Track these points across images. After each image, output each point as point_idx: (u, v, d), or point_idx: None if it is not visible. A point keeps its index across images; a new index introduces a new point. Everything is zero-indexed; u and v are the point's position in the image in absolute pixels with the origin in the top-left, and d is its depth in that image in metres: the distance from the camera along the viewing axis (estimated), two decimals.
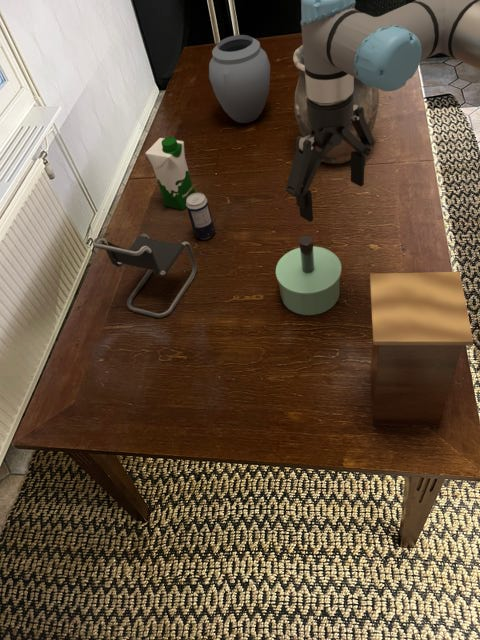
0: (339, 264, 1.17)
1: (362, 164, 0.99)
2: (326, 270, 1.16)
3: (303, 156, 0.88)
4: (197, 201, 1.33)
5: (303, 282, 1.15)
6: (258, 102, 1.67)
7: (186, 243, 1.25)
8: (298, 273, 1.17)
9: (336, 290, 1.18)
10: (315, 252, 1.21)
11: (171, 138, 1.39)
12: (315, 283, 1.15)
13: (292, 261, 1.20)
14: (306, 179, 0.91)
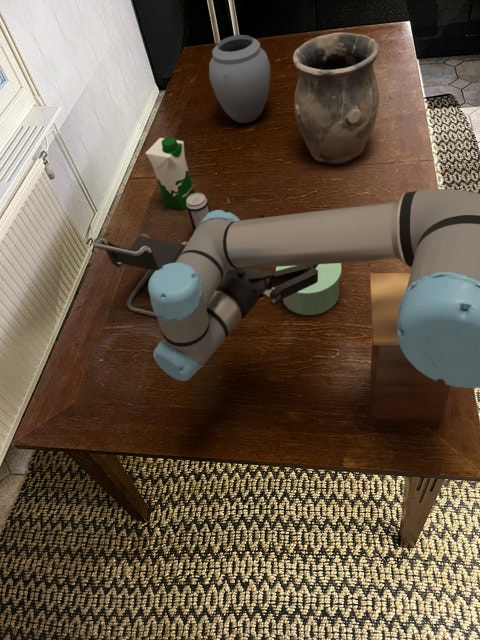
0: (339, 264, 1.17)
1: None
2: (326, 270, 1.16)
3: (284, 290, 0.90)
4: (197, 201, 1.33)
5: None
6: (258, 102, 1.67)
7: (186, 243, 1.25)
8: None
9: (336, 290, 1.18)
10: None
11: (171, 138, 1.39)
12: (315, 283, 1.15)
13: None
14: (297, 272, 0.93)
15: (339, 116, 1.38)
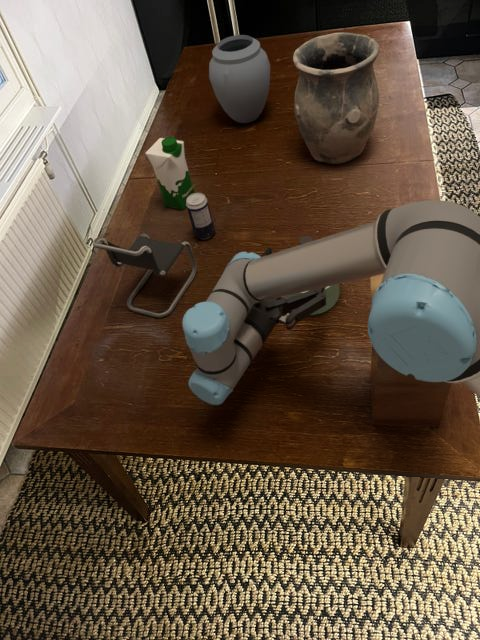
0: None
1: None
2: None
3: (298, 315, 1.01)
4: (197, 201, 1.33)
5: None
6: (258, 102, 1.67)
7: (186, 243, 1.25)
8: None
9: (336, 290, 1.18)
10: None
11: (171, 138, 1.39)
12: None
13: None
14: (307, 297, 1.03)
15: (339, 116, 1.38)
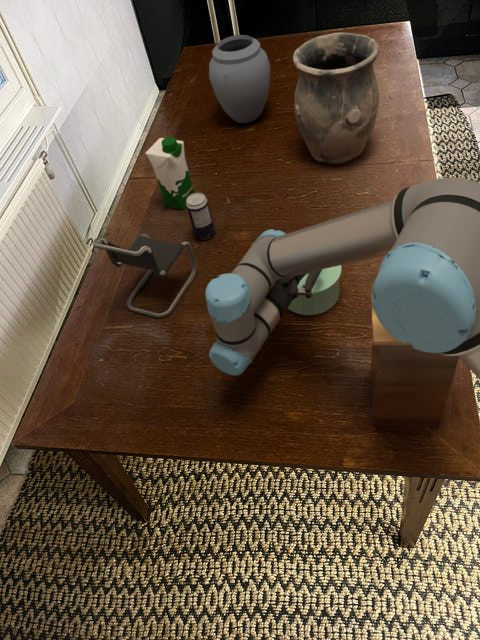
0: None
1: None
2: (326, 270, 1.16)
3: (312, 281, 1.06)
4: (197, 201, 1.33)
5: (303, 282, 1.15)
6: (258, 102, 1.67)
7: (186, 243, 1.25)
8: None
9: (336, 290, 1.18)
10: None
11: (171, 138, 1.39)
12: (315, 283, 1.15)
13: None
14: None
15: (339, 116, 1.38)
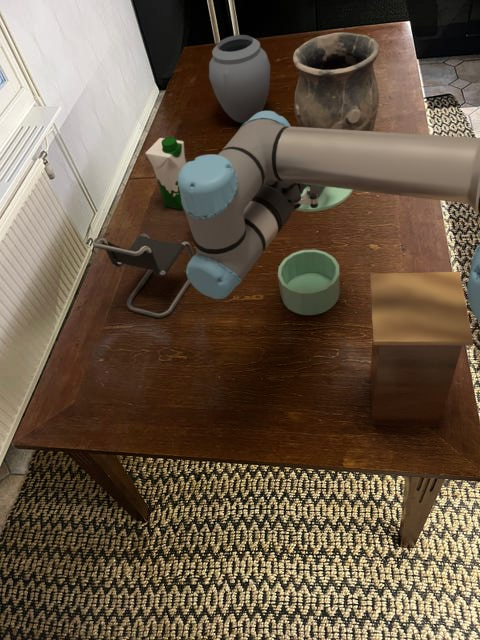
0: None
1: None
2: None
3: (318, 187, 0.84)
4: None
5: None
6: (258, 102, 1.67)
7: (186, 243, 1.25)
8: None
9: (336, 290, 1.18)
10: None
11: (171, 138, 1.39)
12: (322, 198, 0.92)
13: None
14: None
15: (339, 116, 1.38)
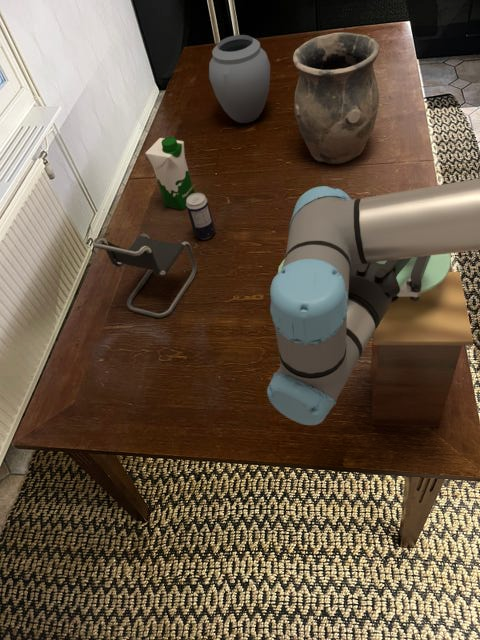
0: None
1: None
2: None
3: (420, 275, 0.69)
4: (197, 201, 1.33)
5: None
6: (258, 102, 1.67)
7: (186, 243, 1.25)
8: None
9: None
10: None
11: (171, 138, 1.39)
12: None
13: None
14: None
15: (339, 116, 1.38)
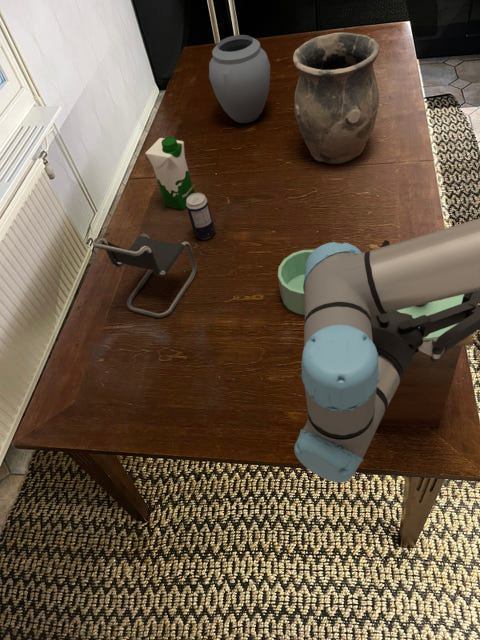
0: None
1: None
2: (447, 303, 0.79)
3: (450, 341, 0.67)
4: (197, 201, 1.33)
5: None
6: (258, 102, 1.67)
7: (186, 243, 1.25)
8: None
9: None
10: None
11: (171, 138, 1.39)
12: None
13: None
14: (459, 314, 0.70)
15: (339, 116, 1.38)
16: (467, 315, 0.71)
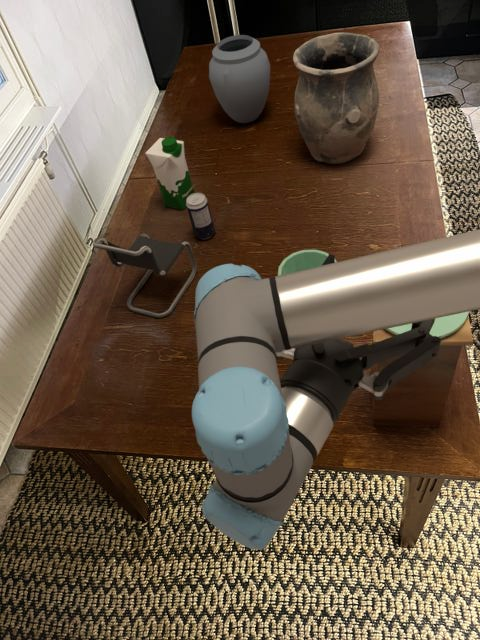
0: None
1: None
2: None
3: (394, 375, 0.57)
4: (197, 201, 1.33)
5: None
6: (258, 102, 1.67)
7: (186, 243, 1.25)
8: None
9: None
10: None
11: (171, 138, 1.39)
12: None
13: None
14: (407, 342, 0.60)
15: (339, 116, 1.38)
16: (417, 343, 0.61)
